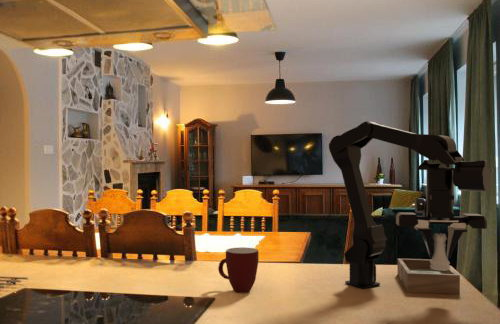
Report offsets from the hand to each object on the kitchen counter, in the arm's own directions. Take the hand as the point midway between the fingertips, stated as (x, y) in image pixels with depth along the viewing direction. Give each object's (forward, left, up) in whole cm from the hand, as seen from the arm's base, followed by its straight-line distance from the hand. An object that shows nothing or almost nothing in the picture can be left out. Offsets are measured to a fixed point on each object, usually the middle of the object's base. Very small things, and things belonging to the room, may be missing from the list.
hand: (439, 257), depth 108 cm
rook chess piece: (0, 0, -3) cm, 3 cm away
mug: (-35, +32, -10) cm, 48 cm away
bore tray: (+10, +11, -10) cm, 18 cm away
